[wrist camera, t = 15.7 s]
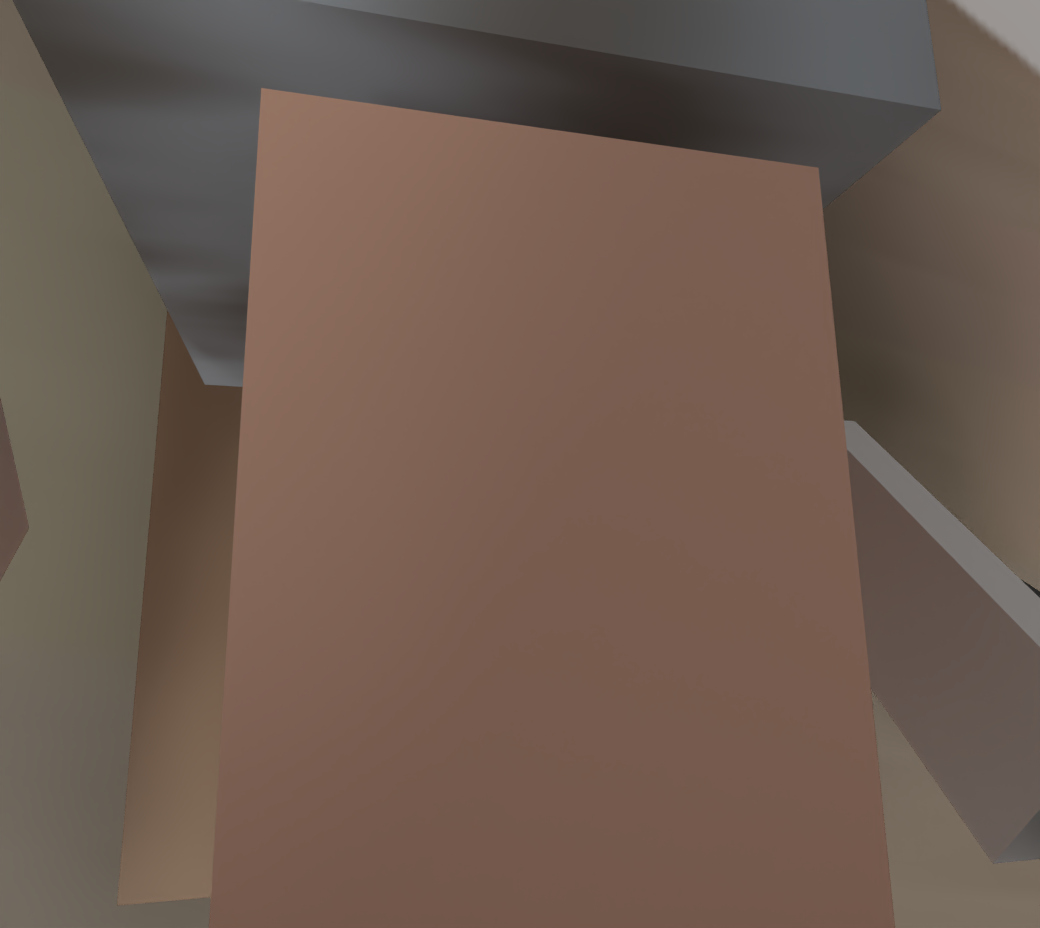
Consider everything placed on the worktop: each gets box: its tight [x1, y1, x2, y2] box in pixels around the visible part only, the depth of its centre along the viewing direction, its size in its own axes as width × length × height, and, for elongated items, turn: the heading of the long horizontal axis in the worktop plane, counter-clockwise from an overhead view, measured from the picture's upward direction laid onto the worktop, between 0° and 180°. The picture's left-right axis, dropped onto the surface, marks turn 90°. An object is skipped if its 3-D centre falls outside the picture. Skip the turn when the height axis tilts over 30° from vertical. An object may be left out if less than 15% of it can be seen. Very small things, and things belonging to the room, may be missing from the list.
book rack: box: [13, 0, 941, 906], centre depth 13 cm, size 12×18×16 cm, turn 1°
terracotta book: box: [209, 88, 895, 928], centre depth 13 cm, size 5×8×14 cm, turn 1°
